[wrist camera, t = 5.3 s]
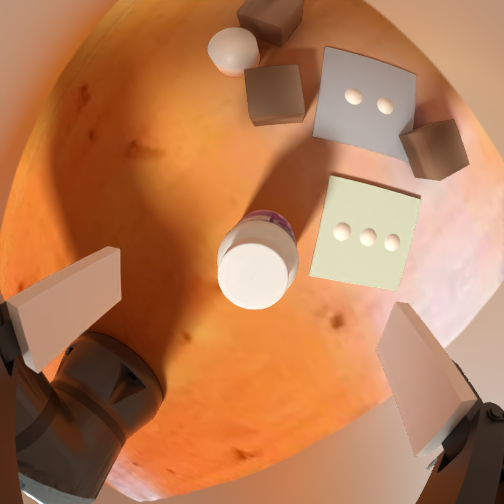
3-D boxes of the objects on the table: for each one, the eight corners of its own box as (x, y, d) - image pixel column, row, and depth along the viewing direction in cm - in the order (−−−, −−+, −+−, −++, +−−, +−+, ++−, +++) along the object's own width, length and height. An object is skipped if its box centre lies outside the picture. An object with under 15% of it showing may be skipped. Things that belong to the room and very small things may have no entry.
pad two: (312, 136, 21) (312, 135, 21) (324, 48, 19) (325, 46, 18) (407, 162, 21) (409, 162, 20) (414, 76, 18) (416, 74, 18)
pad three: (308, 274, 25) (309, 275, 24) (329, 175, 22) (330, 175, 22) (395, 289, 24) (396, 291, 24) (419, 199, 22) (421, 199, 21)
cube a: (254, 126, 22) (249, 117, 18) (250, 85, 21) (243, 69, 17) (301, 122, 21) (305, 112, 17) (296, 80, 20) (298, 64, 16)
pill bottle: (302, 257, 24) (313, 307, 15) (246, 274, 25) (226, 330, 16) (283, 199, 23) (283, 216, 14) (226, 219, 24) (190, 248, 15)
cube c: (414, 177, 21) (440, 180, 17) (398, 136, 20) (422, 132, 16) (443, 162, 20) (469, 164, 16) (428, 123, 19) (453, 119, 15)
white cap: (212, 76, 21) (203, 65, 18) (220, 41, 20) (212, 26, 17) (256, 79, 20) (252, 67, 18) (263, 43, 19) (260, 28, 16)
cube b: (282, 48, 19) (243, 33, 19) (301, 20, 18) (263, 6, 18) (281, 28, 15) (236, 12, 15) (303, -2, 14) (260, -16, 14)
